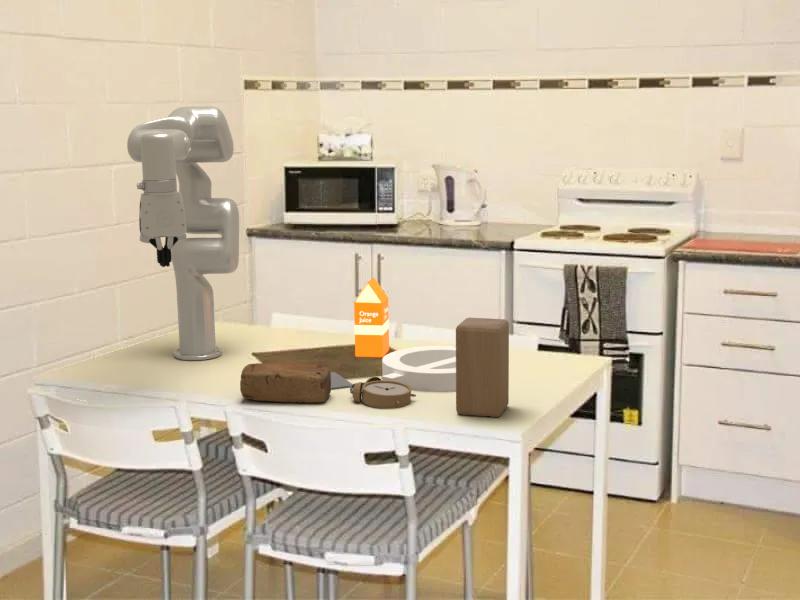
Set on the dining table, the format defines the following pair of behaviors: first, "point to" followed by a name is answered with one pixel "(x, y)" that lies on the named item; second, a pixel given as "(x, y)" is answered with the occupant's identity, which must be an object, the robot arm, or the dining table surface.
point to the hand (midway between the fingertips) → (164, 265)
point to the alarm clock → (382, 393)
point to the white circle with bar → (422, 368)
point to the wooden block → (482, 367)
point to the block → (286, 382)
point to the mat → (338, 381)
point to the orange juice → (371, 321)
